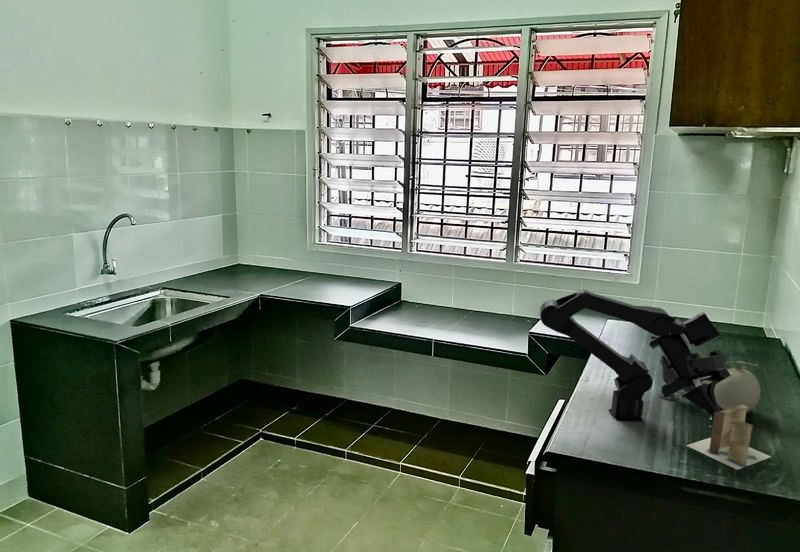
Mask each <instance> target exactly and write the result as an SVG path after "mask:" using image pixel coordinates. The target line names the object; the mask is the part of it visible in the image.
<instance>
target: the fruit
mask: <svg viewBox="0 0 800 552" xmlns="http://www.w3.org/2000/svg"><path fill="white" fill-rule="evenodd" d="M727 364H728V365H729V364H735V366H736V367H733V368H726V369H727V370H728V372H729V373H730V375H731V376H730V377H728V378H726V379H724V380H722V381H721V382H719V383H718V384H716V386H715V389H714V394H715V399H716V403H717V405H718V406H719V407H720V408H721V409H722V410H725V409H729V408H732V407H735V406H739V405H745V406H748V410H747V411H746V413H748V412H750V411H752V410H753V409H754V408H756V406H757V405H758V402H759V400H760V398H761V386H760V382H759V380H758V378H756V377H755V375H754V374H752V373H751V372H750V371H749V370H746V369H743V368H741V365H747V366H754V367H759V364H754V363H750V362H745V361H740V360H735V361H734V360H732V361H726V362H725V363H724V365H727Z"/></svg>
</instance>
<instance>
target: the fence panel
mask: <svg viewBox="0 0 800 552" xmlns="http://www.w3.org/2000/svg"><path fill="white" fill-rule="evenodd" d="M747 410H748V406H745V405H739V406H735V407H732V408H729V409H725V410H724V409H722V410H718V411H719V412H721V413H723V414H724V416H723V423H722V430H721V437H720V444H719V450H720V449H723V448H726V447H729V445H730V438H731V431H732V424H733V423H732V420H734V419H738V420H740V421H743V422H745V423H746V415H747V412H746V411H747Z"/></svg>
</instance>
